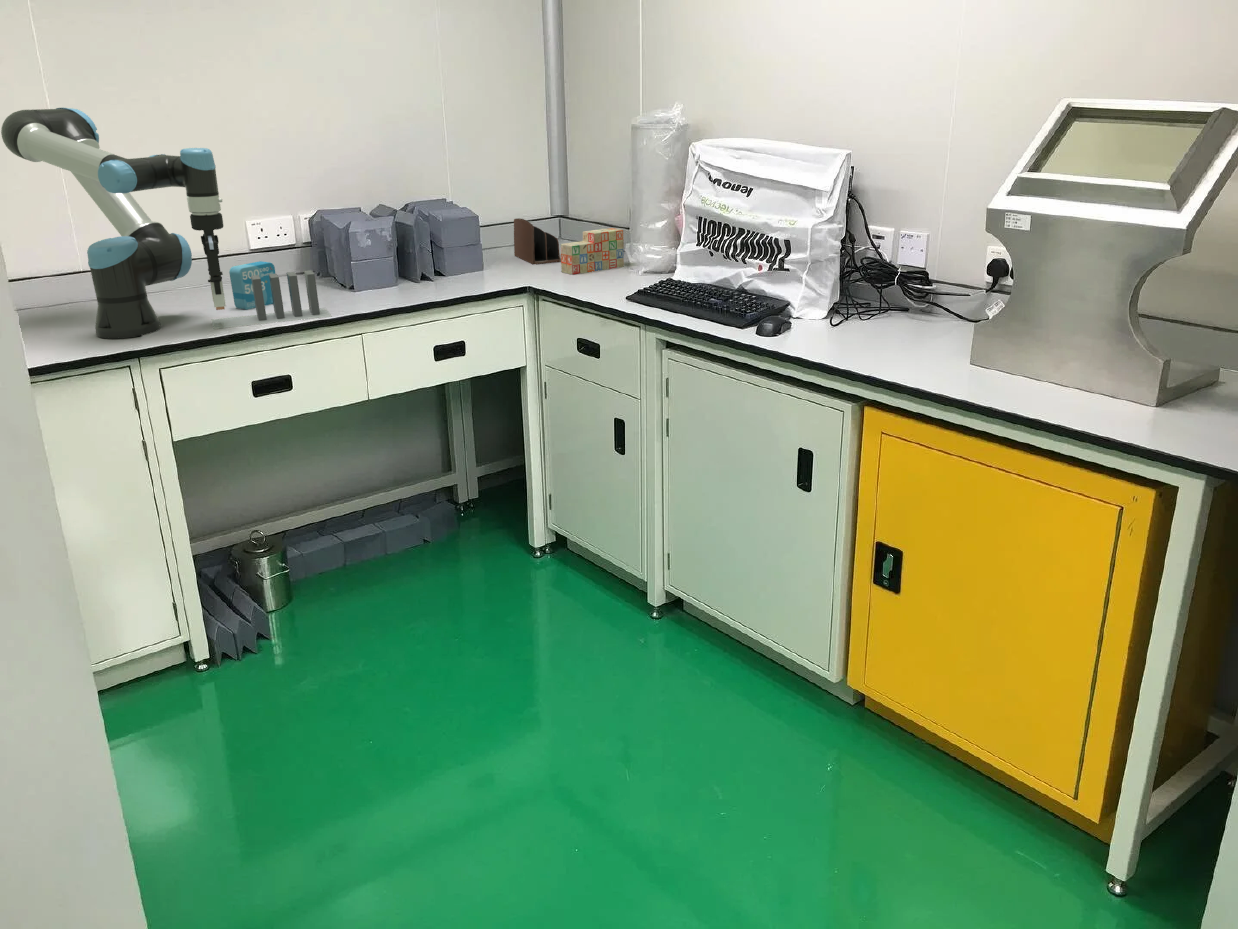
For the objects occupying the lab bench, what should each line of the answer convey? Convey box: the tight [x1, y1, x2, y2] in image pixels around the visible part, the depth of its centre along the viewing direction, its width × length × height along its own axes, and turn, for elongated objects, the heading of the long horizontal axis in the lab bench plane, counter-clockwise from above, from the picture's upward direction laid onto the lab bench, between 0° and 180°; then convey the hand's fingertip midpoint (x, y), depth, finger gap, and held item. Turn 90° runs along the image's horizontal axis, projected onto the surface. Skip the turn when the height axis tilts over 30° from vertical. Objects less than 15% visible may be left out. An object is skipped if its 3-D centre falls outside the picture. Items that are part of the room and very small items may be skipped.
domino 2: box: [251, 275, 267, 321], centre depth 262 cm, size 2×6×11 cm, turn 23°
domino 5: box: [303, 269, 320, 315], centre depth 267 cm, size 2×6×11 cm, turn 24°
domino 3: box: [269, 272, 285, 319], centre depth 264 cm, size 2×6×11 cm, turn 24°
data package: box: [228, 260, 277, 311], centre depth 278 cm, size 12×4×12 cm, turn 147°
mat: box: [210, 307, 333, 330], centre depth 264 cm, size 30×12×1 cm, turn 114°
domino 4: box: [286, 271, 303, 317], centre depth 266 cm, size 2×6×11 cm, turn 23°
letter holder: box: [513, 217, 561, 265], centre depth 341 cm, size 10×20×14 cm, turn 24°
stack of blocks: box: [560, 227, 625, 276], centre depth 321 cm, size 21×6×12 cm, turn 129°
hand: (219, 303), depth 256 cm, fingers closed on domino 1, 6 cm apart
